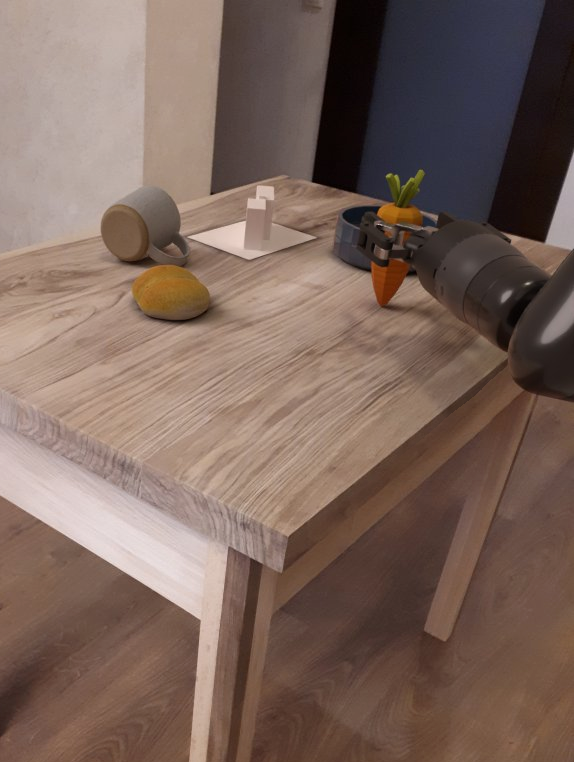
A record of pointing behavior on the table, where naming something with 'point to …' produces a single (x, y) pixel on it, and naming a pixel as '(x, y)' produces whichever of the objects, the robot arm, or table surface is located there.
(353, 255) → the bowl
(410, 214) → the carrot
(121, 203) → the ceramic mug
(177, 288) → the bread roll
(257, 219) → the napkin holder
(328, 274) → the table surface
